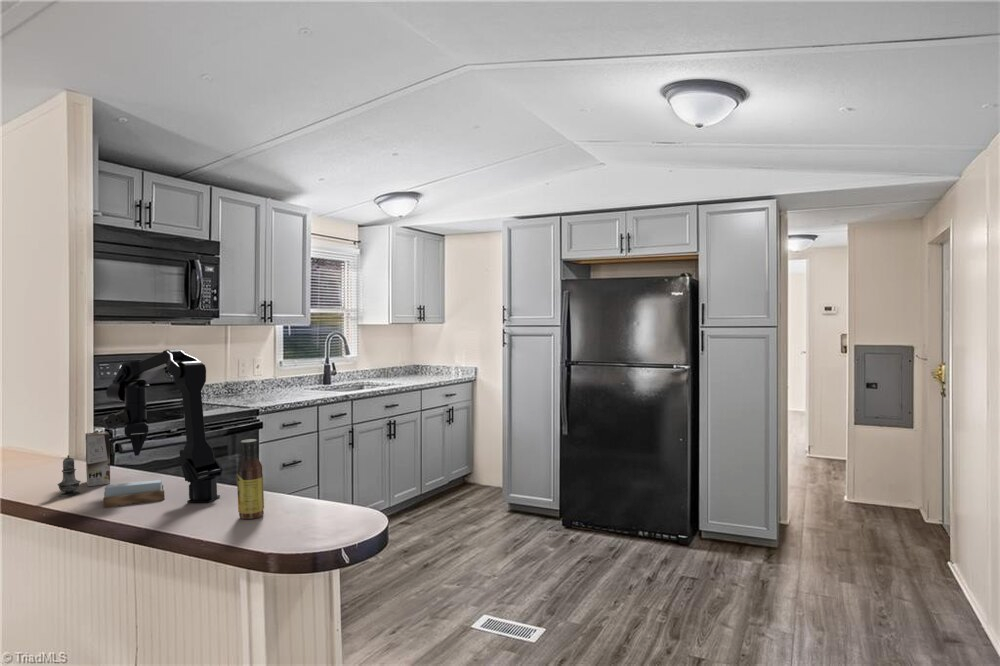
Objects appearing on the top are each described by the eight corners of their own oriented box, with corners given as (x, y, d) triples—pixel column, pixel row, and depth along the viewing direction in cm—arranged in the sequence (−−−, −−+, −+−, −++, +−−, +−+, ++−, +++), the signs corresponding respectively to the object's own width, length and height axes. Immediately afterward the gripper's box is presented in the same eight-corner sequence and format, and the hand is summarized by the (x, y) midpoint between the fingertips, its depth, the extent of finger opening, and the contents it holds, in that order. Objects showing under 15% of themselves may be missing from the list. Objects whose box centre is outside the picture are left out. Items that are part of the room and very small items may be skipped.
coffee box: (111, 483, 208) (109, 433, 208) (87, 487, 204) (85, 436, 204) (109, 478, 215) (107, 430, 215) (86, 481, 212) (85, 432, 212)
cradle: (163, 492, 194) (163, 484, 194) (164, 499, 186) (164, 490, 186) (104, 500, 187) (104, 491, 186) (103, 507, 179) (103, 498, 179)
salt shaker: (69, 497, 191) (68, 457, 191) (52, 496, 192) (51, 456, 192) (85, 492, 197) (84, 453, 197) (69, 491, 198) (68, 452, 198)
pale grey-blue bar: (162, 496, 191) (162, 479, 191) (160, 499, 187) (160, 482, 187) (107, 502, 186) (107, 484, 186) (105, 505, 182) (104, 487, 182)
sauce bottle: (244, 513, 170) (242, 437, 170) (268, 513, 170) (266, 437, 169) (233, 520, 163) (231, 442, 163) (258, 520, 163) (256, 442, 163)
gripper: (105, 401, 202) (106, 450, 202) (104, 407, 186) (105, 461, 186) (146, 398, 208) (146, 447, 208) (148, 404, 192) (148, 457, 192)
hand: (136, 453), depth 198 cm, fingers open, 9 cm apart
